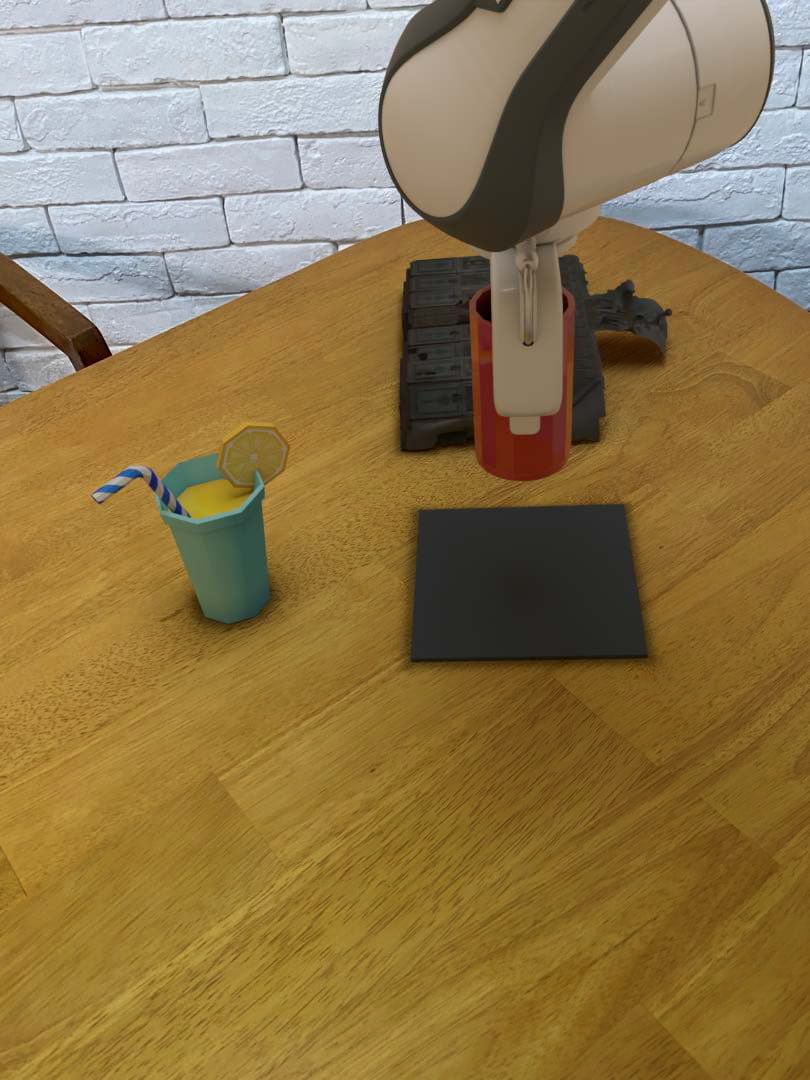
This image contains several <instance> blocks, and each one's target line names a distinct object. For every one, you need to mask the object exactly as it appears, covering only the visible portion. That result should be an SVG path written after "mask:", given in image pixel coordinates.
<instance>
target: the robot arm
mask: <svg viewBox="0 0 810 1080" xmlns="http://www.w3.org/2000/svg"><path fill="white" fill-rule="evenodd" d="M775 65H776V39H775V30H774V24H773V19H772V15H771V12H770V8H769V5H768V2H767V0H432V1H431V3H428V4H427V5H426V6H424V7H423V8H421V9H420V10H418V11H417V12H416V13H415V14H414V15H413V16H412V17H411V18H410V20H409V21H408V22H407V24H406V26H405V27H404V29H403V30H402V33H401V35H400V37H399V39H398V41H397V42H396V44H395V46H394V49H393V52H392V54H391V57H390V60H389V62H388V65H387V68H386V71H385V74H384V78H383V81H382V86H381V90H380V95H379V100H378V109H377V128H378V129H377V130H378V131H377V132H378V139H379V145H380V148H381V154H382V157H383V162H384V164H385V167H386V170H387V173H388V175H389V178H390V180H391V182H392V183H393V186H394V187H395V189H396V190H397V192H398V194H399V195H400V197H401V198H402V199H403V201H404V203H406V205H407V206H408V207H409V208H410V209H411V210H412V211H413V212H414V213H416V214H417V215H418V216H419V217H421V218H422V219H423V220H424V221H426V222H427V223H428V224H429V225H431V226H433V227H434V228H436V229H437V230H439V231H441V232H442V233H444V234H446V235H447V236H450V237H451V238H453V239H456V240H457V241H459V242H461V243H464V244H466V245H467V246H468V247H469V249H470V250H471V251H472V252H473V253H475V254H476V255H477V256H478V255H480V256H482V257H484V258H486V259H489V260H490V282H491V318H492V355H493V391H494V404H495V409H496V411H497V413H498V414H499V415H500V416H504V417H510V431H511V432H512V433H513V434H515V435H525V434H535V433H537V432H538V431H539V429H540V416H549V415H554V414H556V413H557V412H558V411H559V409H560V406H561V402H562V390H563V298H562V286H561V277H560V269H559V261H558V257H560V256H561V255H565V253H566V252H567V251H569V250H570V249H572V248H573V247H574V246H575V245H576V242H577V241H578V237H579V234H580V233H582V232H584V231H585V230H586V229H588V228H589V227H591V226H592V225H593V224H594V223H595V222H596V221H597V220H598V218H599V216H600V214H601V212H602V205H603V204H605V203H607V202H609V201H612V200H614V199H617V198H619V197H622V196H624V195H627V194H629V193H631V192H634V191H636V190H639V189H642V188H644V187H647V186H649V185H651V184H654V183H657V182H658V181H659V180H661V179H664V178H666V177H668V176H671V175H673V174H675V173H676V174H677V173H678V172H680V171H683V170H686V169H688V168H691V167H693V166H695V165H697V164H699V163H702V162H704V161H707V160H709V159H711V158H713V157H715V156H717V155H719V154H721V153H723V152H724V151H725V150H727V149H729V148H733V147H734V146H735V145H737V144H739V143H740V142H741V141H743V140H744V139H745V138H746V137H747V136H748V135H749V134H750V133H751V131H752V130H753V129H754V127H755V126H756V124H757V122H758V121H759V119H760V117H761V115H762V113H763V111H764V109H765V106H766V104H767V102H768V98H769V95H770V92H771V88H772V85H773V84H772V83H773V79H774V73H775V67H776V66H775ZM524 342H525V344H526V345H523V343H524ZM532 342H534V344H531V343H532Z"/></svg>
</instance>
